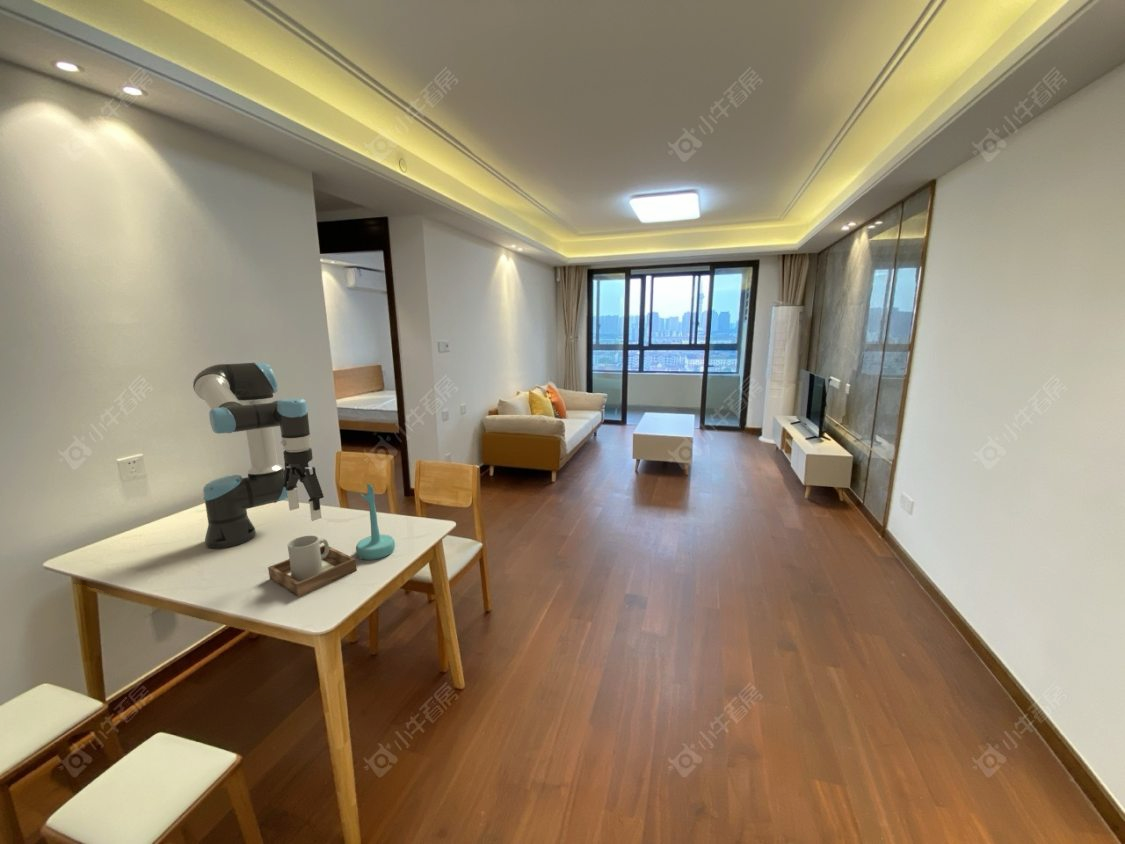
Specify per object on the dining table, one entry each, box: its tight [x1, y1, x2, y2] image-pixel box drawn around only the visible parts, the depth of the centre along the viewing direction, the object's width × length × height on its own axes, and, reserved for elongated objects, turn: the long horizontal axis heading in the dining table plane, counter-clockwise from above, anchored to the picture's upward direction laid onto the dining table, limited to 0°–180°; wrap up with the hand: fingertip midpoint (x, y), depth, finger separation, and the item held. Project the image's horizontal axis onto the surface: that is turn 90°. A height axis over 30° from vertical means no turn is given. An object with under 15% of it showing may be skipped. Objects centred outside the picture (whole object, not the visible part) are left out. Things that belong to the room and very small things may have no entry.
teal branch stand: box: [355, 483, 396, 561], centre depth 154 cm, size 12×12×25 cm
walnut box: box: [267, 544, 358, 598], centre depth 141 cm, size 18×18×4 cm
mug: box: [287, 535, 330, 581], centre depth 140 cm, size 12×8×11 cm
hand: (305, 514), depth 140 cm, fingers open, 13 cm apart
